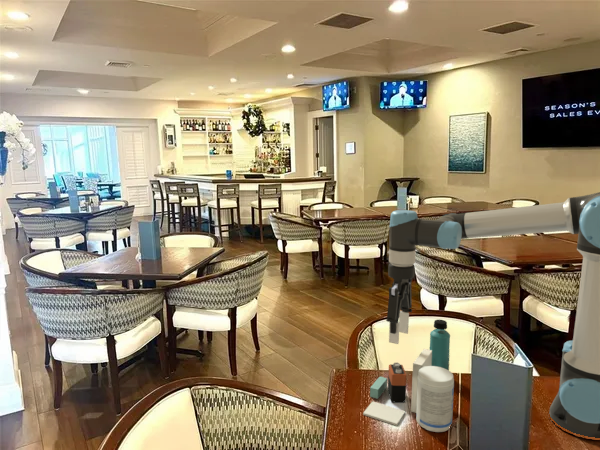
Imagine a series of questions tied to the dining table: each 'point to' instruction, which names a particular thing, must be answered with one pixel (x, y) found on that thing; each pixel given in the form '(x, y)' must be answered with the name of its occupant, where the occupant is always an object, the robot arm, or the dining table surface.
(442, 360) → the beverage bottle
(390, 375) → the battery
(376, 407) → the mat
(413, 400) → the white u-shaped bracket
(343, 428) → the dining table surface
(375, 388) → the block
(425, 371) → the supplement tub
